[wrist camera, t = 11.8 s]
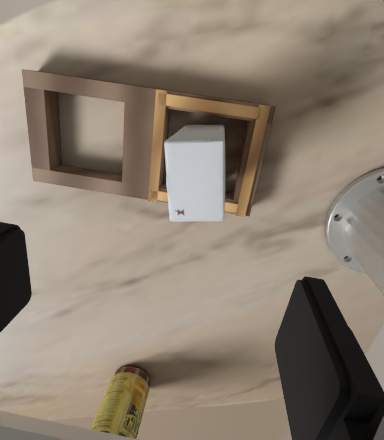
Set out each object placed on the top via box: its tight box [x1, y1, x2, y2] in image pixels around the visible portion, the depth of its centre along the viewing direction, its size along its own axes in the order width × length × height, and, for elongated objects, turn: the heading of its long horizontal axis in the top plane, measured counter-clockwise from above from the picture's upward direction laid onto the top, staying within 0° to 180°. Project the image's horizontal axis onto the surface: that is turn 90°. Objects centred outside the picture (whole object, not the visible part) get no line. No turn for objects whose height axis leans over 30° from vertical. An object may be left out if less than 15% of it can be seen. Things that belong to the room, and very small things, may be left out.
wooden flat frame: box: [22, 69, 275, 217], centre depth 30 cm, size 24×11×3 cm, turn 82°
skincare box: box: [164, 124, 225, 222], centre depth 26 cm, size 6×4×12 cm
